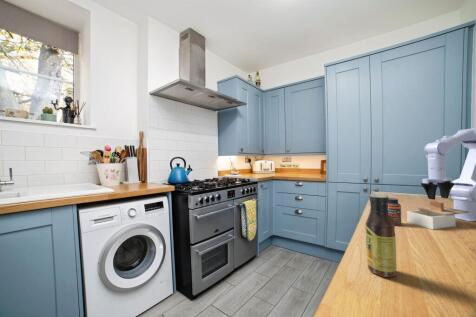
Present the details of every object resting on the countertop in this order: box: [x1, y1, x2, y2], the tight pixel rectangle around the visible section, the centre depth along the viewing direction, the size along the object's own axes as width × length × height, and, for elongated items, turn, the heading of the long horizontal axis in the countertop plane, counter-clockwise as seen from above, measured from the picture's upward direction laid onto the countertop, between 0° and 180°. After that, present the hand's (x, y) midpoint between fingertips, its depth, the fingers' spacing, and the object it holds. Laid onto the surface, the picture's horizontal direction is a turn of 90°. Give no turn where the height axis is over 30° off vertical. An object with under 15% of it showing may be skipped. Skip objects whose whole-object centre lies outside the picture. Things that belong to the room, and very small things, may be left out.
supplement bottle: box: [388, 197, 402, 227], centre depth 88 cm, size 6×6×11 cm
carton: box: [406, 209, 456, 230], centre depth 86 cm, size 12×10×5 cm
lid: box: [417, 201, 469, 215], centre depth 87 cm, size 12×10×4 cm
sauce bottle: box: [365, 193, 398, 278], centre depth 51 cm, size 7×6×20 cm
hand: (438, 198), depth 90 cm, fingers open, 7 cm apart
